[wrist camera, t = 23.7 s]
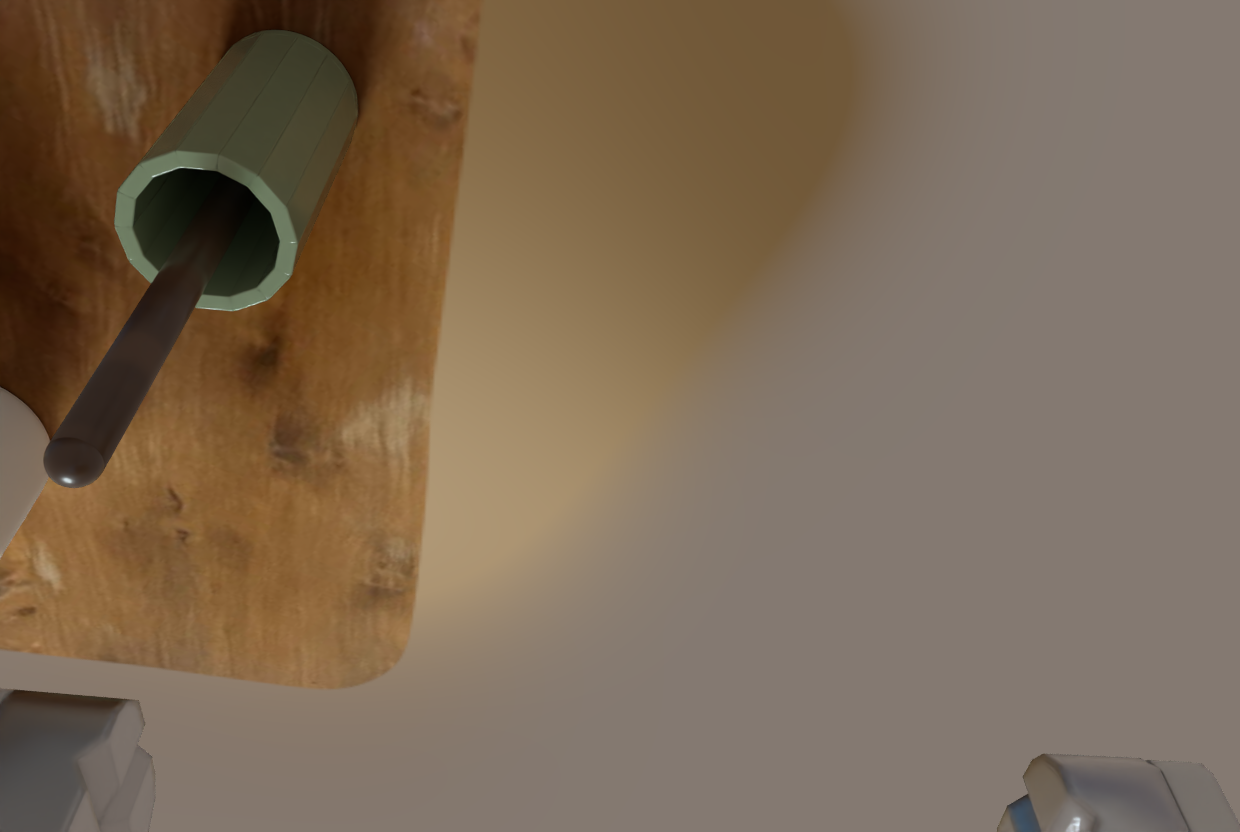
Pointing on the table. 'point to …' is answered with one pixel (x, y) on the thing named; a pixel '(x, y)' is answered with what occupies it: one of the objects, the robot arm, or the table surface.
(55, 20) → the table surface
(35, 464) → the cup
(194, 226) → the dark wooden dowel
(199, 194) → the crock
